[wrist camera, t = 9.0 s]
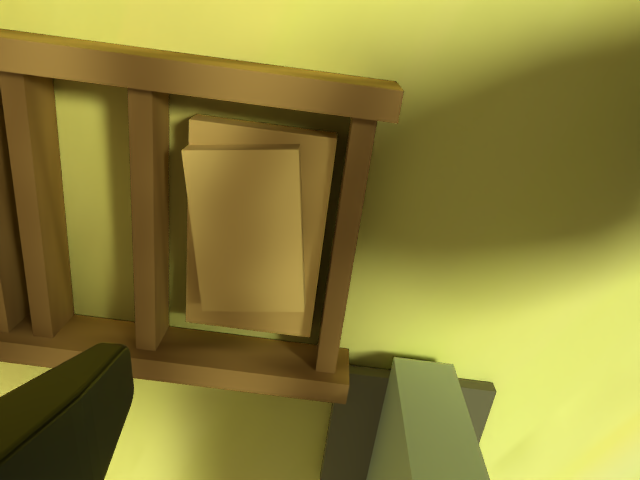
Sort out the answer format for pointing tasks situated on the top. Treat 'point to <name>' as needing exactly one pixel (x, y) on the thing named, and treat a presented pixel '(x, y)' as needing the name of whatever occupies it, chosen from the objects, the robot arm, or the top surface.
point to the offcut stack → (255, 222)
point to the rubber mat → (364, 415)
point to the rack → (161, 213)
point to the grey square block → (425, 427)
